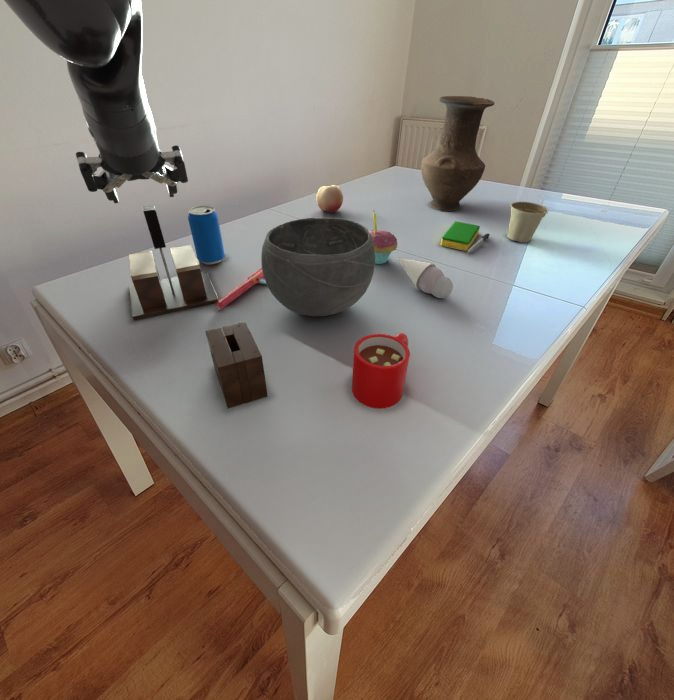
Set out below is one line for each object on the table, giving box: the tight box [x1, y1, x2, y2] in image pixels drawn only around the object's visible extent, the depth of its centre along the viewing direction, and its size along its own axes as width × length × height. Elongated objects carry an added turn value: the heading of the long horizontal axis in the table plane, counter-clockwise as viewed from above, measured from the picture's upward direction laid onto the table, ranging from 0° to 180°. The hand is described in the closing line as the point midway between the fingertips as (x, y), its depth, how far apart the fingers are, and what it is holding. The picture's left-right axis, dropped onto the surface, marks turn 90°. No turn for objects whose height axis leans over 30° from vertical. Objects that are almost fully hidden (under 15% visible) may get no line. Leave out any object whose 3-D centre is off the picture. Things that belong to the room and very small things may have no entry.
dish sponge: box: [440, 221, 481, 252], centre depth 103 cm, size 7×14×2 cm, turn 152°
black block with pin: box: [142, 205, 175, 295], centre depth 72 cm, size 2×3×17 cm, turn 25°
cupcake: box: [369, 209, 398, 265], centre depth 90 cm, size 9×8×12 cm
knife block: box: [205, 321, 268, 410], centre depth 56 cm, size 6×9×8 cm, turn 25°
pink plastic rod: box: [216, 267, 267, 311], centre depth 82 cm, size 24×2×5 cm
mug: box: [351, 332, 411, 410], centre depth 57 cm, size 8×12×8 cm, turn 146°
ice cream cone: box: [397, 257, 454, 299], centre depth 81 cm, size 6×6×15 cm
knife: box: [467, 233, 490, 254], centre depth 99 cm, size 15×1×2 cm, turn 143°
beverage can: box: [187, 205, 226, 265], centre depth 88 cm, size 6×6×12 cm
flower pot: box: [506, 201, 550, 243], centre depth 103 cm, size 9×9×9 cm
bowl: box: [260, 217, 376, 317], centre depth 72 cm, size 21×21×15 cm
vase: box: [420, 95, 495, 212], centre depth 116 cm, size 19×19×30 cm
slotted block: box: [128, 244, 220, 322], centre depth 76 cm, size 16×13×8 cm
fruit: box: [315, 184, 344, 213], centre depth 117 cm, size 8×8×8 cm
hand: (143, 195), depth 63 cm, fingers open, 8 cm apart
